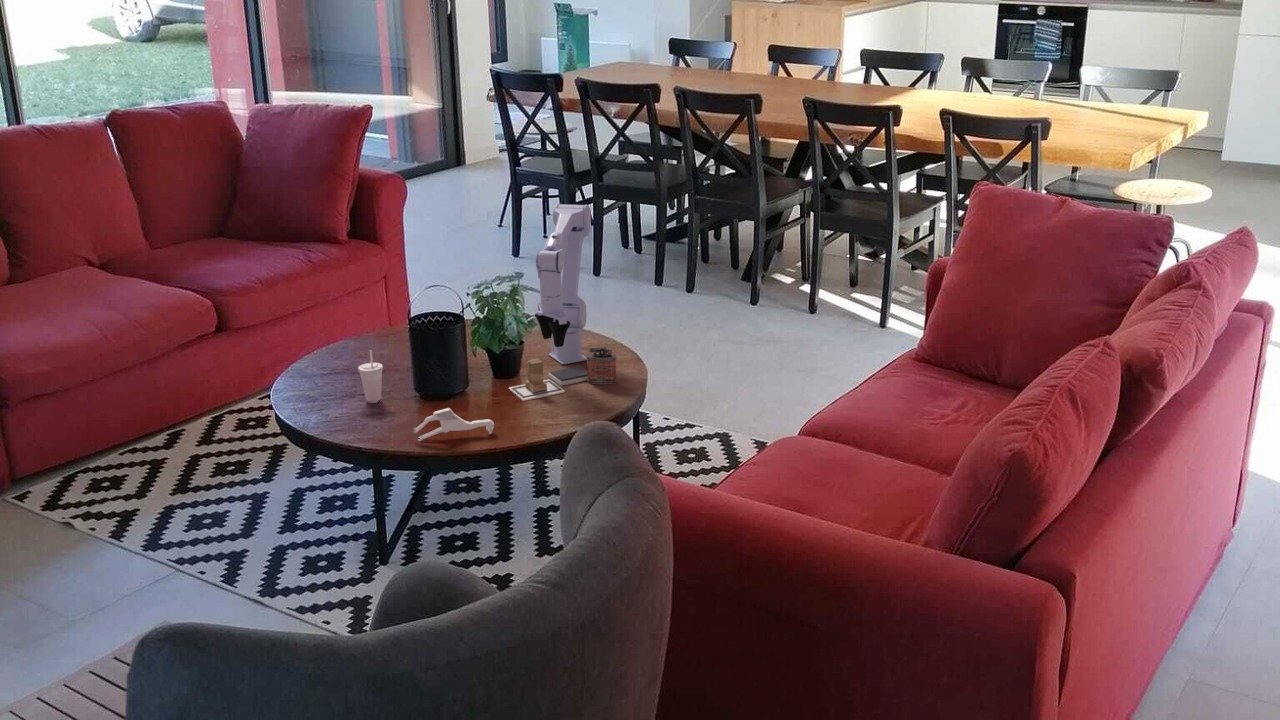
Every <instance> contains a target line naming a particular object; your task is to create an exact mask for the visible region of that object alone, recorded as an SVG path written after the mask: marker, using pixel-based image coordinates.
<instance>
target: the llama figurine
mask: <svg viewBox="0 0 1280 720" xmlns="http://www.w3.org/2000/svg"><path fill="white" fill-rule="evenodd" d="M432 414H433V415H430V416H425V419H424V420H423V421H422V423H420V424H419V425H418V426H416V427H413V429H412V433H414V434H415V435H416V434H418V432H420V430H422V428H424V427H425V426H426V425H427V424H428V423H429V422H432V421H439V422H440V426H439V427H438V428H435V429H433V430H432V431H428V432H427V433H425V434H422V435H420V436H418V437H417V441H418V442H422V440H424V439H425V440H426V439H428V438H430V437H433V436H434V435H437V434H441V433H445V434H446V433H449V432H450V431H452V432H453V431H454V432H455V431H461V432H462V431H469V430H474V429H476V428H480V427H484V426H486V428H485V429H486V431H487V432H488V435H491V434H493V430H494V429H495V428H494V426H495V423H494V421H493V420H492V419H489V418H487V419H477V420H472V421H468V420H465V419H463V418H461V417H460V416H458V415H457V414H456V413H454V411H453V410H452V409H451V408H450V407H447V408H443V409H439V410H436V411H433V413H432ZM418 438H420V439H418Z"/></svg>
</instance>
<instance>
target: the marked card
mask: <svg viewBox="0 0 1280 720" xmlns="http://www.w3.org/2000/svg"><path fill="white" fill-rule="evenodd" d="M543 382H545V383H546V384H547V391H545V392H540V393H535V394H533V393H531V392H530V391H529V390H528V389H526V384H525V383H524V384H520V385H514V386H508V390H509V389H510V390H509V391H511V392H512V394H514V395H515V394H516V395H515V396H517V398H519V399H520V400H522V401H523V402H525V401H530V400H535V399H536V400H537V399H541V398H544V397H551V396H555V395H559V394H565V393H566V390H564V388H561V386H560V385H559V384H557V383H556V382H555V381H553V380H552V379H551V378H549V379H543Z"/></svg>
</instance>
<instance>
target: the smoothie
mask: <svg viewBox="0 0 1280 720" xmlns="http://www.w3.org/2000/svg"><path fill="white" fill-rule="evenodd" d="M369 356H370V362H367V363H366V362H365V363H362V364H361V365H359V366H358V367H357V372H358V373H359V375H360V379H361V383H362V384H361V385H362V388H363V392H364V396H365V401H366V400H368V401H378V400H380V399H381V400H382V386H383V385H382V382H383V381H382V380H383V370H384V366H383V364H382V363H381V362H374V359H373V349H369Z"/></svg>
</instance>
